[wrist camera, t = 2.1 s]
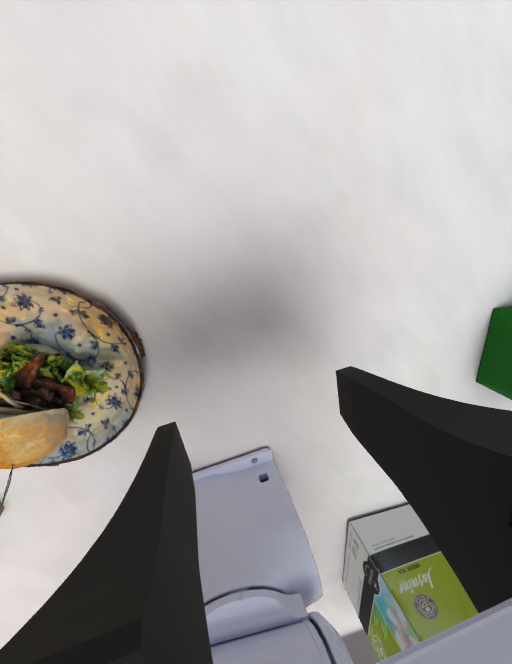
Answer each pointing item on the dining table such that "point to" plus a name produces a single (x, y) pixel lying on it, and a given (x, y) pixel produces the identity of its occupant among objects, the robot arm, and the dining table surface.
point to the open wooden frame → (1, 508)
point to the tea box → (401, 581)
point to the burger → (62, 376)
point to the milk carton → (498, 354)
